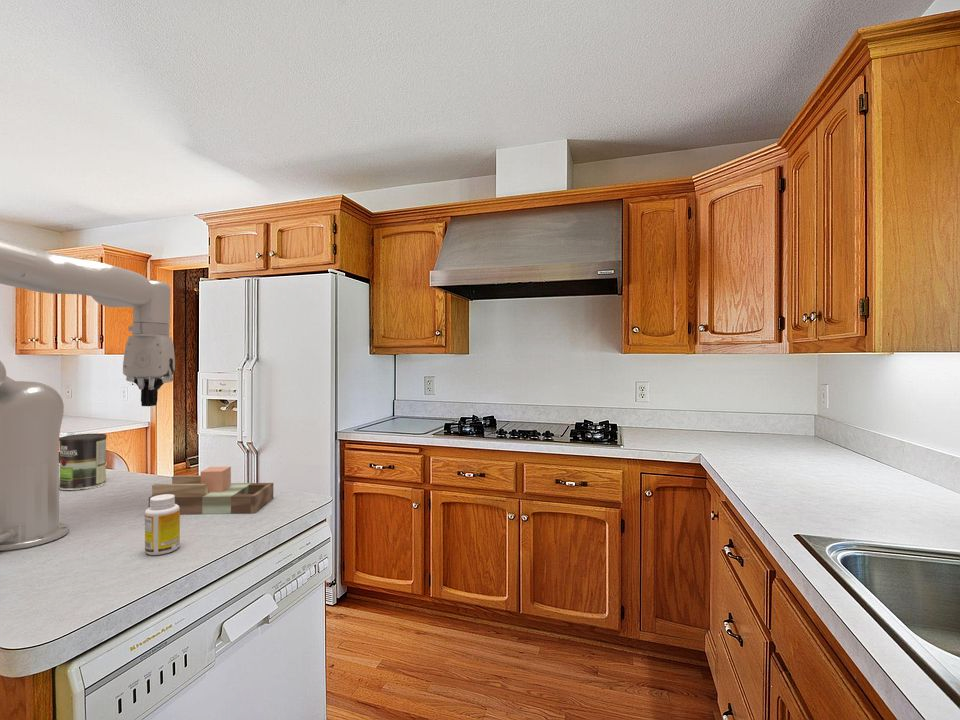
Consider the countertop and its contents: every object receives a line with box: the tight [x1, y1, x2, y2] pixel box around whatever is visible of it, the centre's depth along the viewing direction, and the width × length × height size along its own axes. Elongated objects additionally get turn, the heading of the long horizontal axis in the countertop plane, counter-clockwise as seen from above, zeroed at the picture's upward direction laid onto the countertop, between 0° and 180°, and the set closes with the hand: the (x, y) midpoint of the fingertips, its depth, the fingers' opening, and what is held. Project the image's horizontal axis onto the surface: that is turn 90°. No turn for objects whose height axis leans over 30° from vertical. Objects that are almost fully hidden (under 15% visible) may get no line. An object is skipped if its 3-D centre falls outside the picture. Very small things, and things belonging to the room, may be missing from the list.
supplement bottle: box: [144, 494, 181, 556], centre depth 92 cm, size 6×6×10 cm
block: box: [200, 466, 232, 492], centre depth 119 cm, size 5×5×5 cm
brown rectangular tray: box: [148, 474, 274, 515], centre depth 118 cm, size 12×24×6 cm, turn 94°
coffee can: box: [59, 433, 107, 491], centre depth 135 cm, size 10×10×14 cm
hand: (149, 405), depth 118 cm, fingers closed
